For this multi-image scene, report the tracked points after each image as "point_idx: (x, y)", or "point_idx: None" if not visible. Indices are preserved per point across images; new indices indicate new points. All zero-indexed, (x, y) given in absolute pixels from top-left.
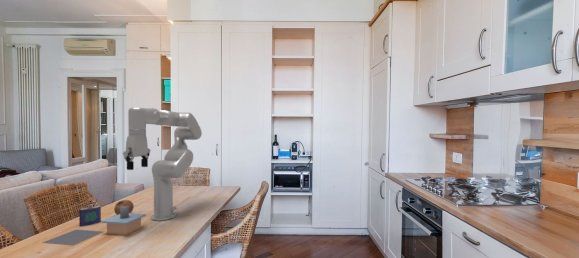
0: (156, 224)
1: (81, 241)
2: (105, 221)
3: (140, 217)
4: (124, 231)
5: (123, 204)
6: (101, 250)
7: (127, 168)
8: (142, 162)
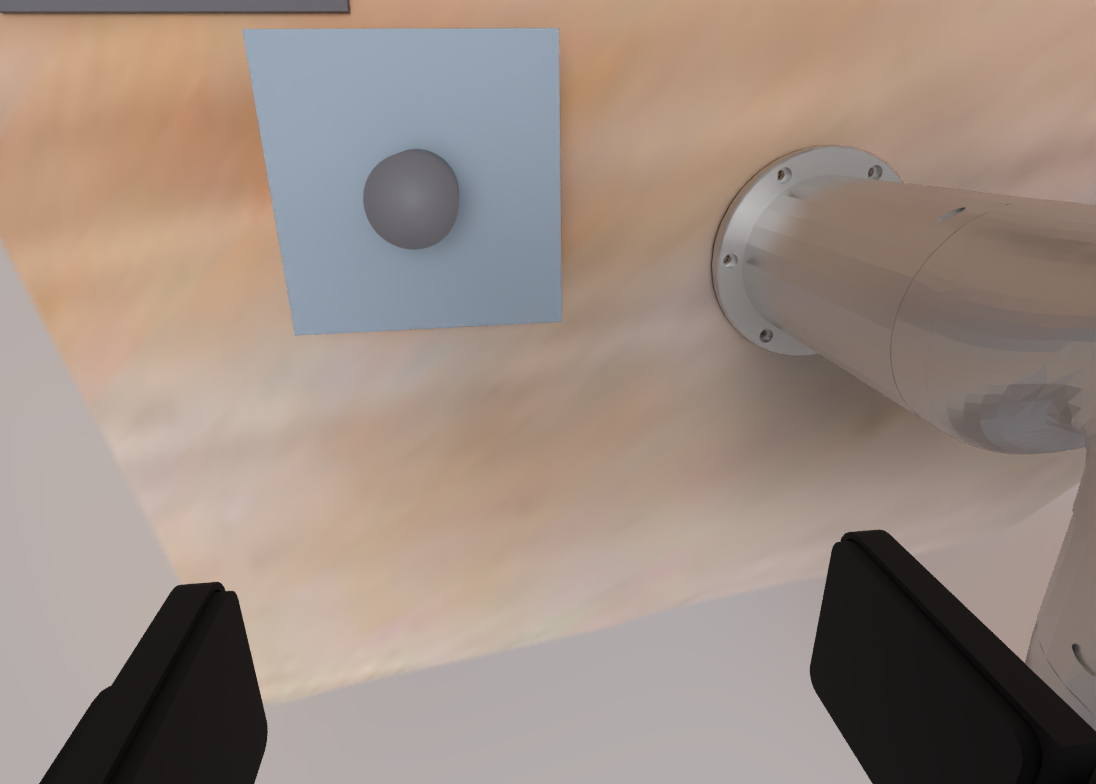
0: (632, 318)
1: (87, 3)
2: (252, 86)
3: (485, 322)
4: None
5: None
6: (74, 310)
7: (172, 624)
8: (912, 672)
